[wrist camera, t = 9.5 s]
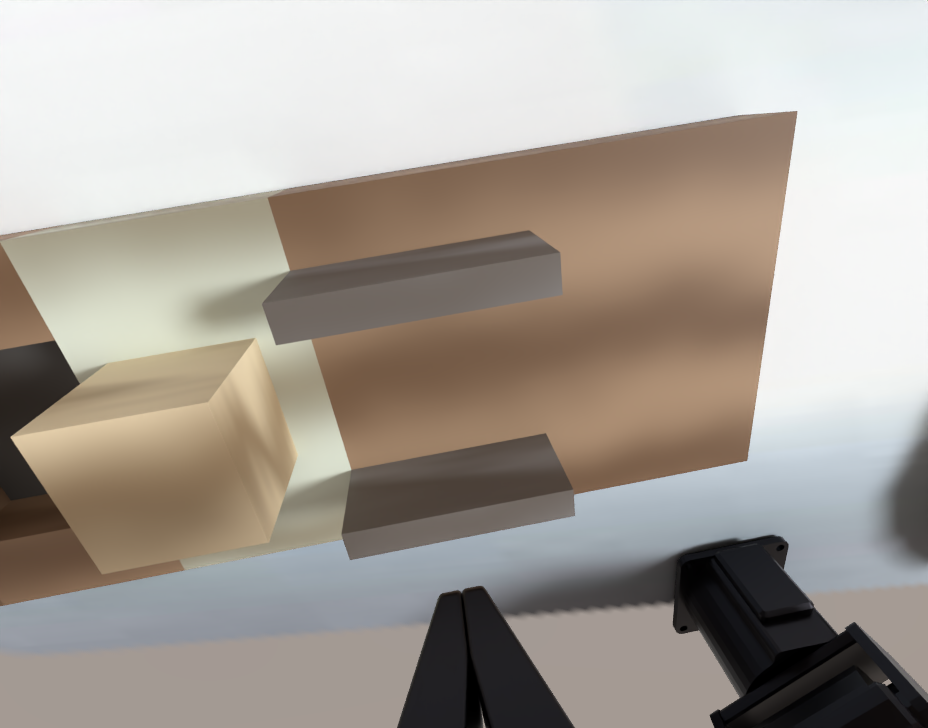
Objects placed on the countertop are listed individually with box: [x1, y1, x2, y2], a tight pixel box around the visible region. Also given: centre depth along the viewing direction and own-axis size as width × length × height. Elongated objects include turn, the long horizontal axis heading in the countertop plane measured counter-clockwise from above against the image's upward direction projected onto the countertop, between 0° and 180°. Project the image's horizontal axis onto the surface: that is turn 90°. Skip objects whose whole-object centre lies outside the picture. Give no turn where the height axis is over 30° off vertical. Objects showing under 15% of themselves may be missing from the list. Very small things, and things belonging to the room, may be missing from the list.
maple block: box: [10, 338, 298, 574], centre depth 15 cm, size 5×5×4 cm
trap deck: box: [0, 111, 797, 606], centre depth 17 cm, size 14×35×6 cm, turn 98°
